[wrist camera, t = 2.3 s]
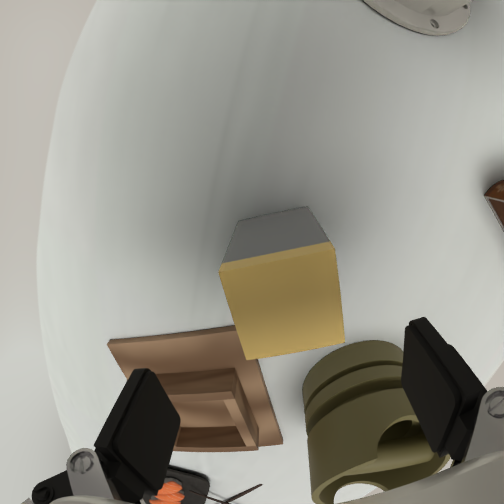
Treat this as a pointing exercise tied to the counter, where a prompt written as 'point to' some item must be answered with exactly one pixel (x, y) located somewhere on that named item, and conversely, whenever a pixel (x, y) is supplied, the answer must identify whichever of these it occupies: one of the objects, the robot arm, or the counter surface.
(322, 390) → the piston
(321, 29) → the counter surface
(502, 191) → the food container
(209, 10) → the counter surface
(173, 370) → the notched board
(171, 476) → the sushi plate
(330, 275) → the gold and gray block
